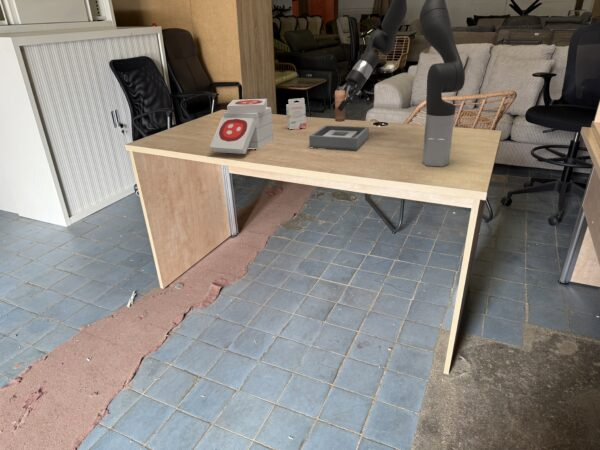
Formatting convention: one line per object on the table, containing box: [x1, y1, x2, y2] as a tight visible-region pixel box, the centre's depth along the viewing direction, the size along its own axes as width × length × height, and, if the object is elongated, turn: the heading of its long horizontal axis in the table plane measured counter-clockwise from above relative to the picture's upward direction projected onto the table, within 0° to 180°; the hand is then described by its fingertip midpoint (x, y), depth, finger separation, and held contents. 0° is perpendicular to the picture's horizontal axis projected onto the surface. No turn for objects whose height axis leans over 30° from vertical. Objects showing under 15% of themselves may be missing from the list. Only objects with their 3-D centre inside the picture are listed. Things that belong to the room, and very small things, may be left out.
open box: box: [308, 124, 370, 152], centre depth 178 cm, size 20×20×5 cm
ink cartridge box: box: [285, 97, 307, 130], centre depth 204 cm, size 9×5×15 cm, turn 105°
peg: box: [334, 89, 346, 123], centre depth 173 cm, size 4×4×12 cm
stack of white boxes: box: [209, 98, 274, 155], centre depth 175 cm, size 19×30×18 cm, turn 158°
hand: (336, 108), depth 172 cm, fingers closed on peg, 4 cm apart
